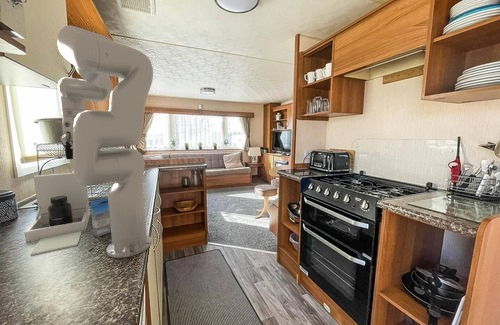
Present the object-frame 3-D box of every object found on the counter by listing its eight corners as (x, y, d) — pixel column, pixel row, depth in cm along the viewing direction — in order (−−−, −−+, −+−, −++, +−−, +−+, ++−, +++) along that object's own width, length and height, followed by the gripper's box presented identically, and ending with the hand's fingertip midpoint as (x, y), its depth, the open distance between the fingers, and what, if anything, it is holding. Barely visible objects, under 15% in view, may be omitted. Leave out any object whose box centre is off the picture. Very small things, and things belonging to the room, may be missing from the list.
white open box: (85, 230, 80) (79, 179, 77) (25, 242, 71) (16, 185, 69) (90, 214, 95) (85, 171, 92) (41, 222, 87) (34, 175, 84)
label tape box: (97, 237, 75) (93, 203, 73) (93, 234, 77) (89, 201, 75) (124, 228, 82) (121, 197, 80) (119, 225, 84) (116, 195, 82)
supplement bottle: (54, 232, 78) (49, 201, 76) (47, 228, 82) (43, 198, 80) (76, 225, 84) (73, 196, 82) (69, 222, 87) (66, 193, 86)
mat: (77, 245, 69) (77, 243, 69) (30, 255, 63) (30, 254, 63) (81, 232, 79) (81, 230, 78) (41, 240, 73) (41, 238, 73)
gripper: (70, 113, 77) (76, 160, 79) (96, 116, 93) (100, 155, 96) (46, 112, 75) (53, 160, 78) (77, 116, 92) (81, 155, 95)
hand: (79, 157), depth 87 cm, fingers open, 9 cm apart
